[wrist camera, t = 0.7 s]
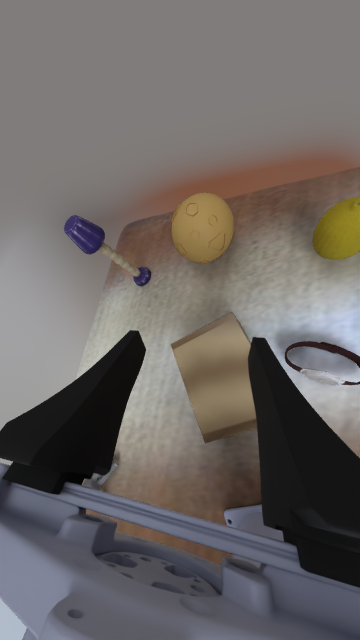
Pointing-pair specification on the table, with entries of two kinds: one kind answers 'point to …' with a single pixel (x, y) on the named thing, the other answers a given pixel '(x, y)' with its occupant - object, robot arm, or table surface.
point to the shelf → (218, 377)
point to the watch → (325, 376)
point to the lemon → (339, 230)
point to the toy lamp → (100, 246)
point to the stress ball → (202, 227)
